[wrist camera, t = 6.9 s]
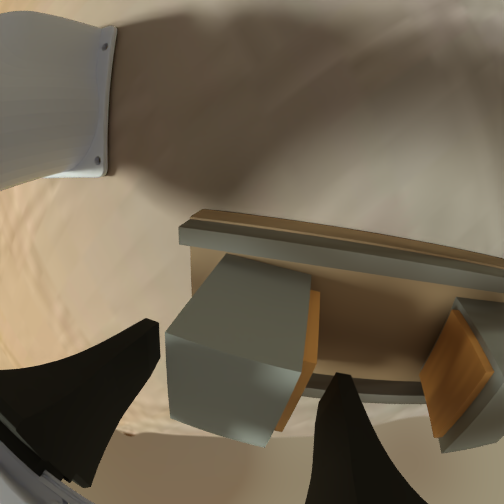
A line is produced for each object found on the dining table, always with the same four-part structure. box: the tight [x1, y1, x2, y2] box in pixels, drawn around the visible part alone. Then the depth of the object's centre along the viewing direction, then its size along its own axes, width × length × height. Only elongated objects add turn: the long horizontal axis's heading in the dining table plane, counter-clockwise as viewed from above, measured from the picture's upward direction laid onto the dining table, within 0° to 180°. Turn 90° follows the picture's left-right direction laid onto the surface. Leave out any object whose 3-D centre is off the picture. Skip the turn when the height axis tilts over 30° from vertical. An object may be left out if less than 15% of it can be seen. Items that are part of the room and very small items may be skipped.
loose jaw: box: [165, 253, 320, 448], centre depth 11 cm, size 5×4×6 cm
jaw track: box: [179, 209, 504, 453], centre depth 11 cm, size 9×18×8 cm, turn 86°
